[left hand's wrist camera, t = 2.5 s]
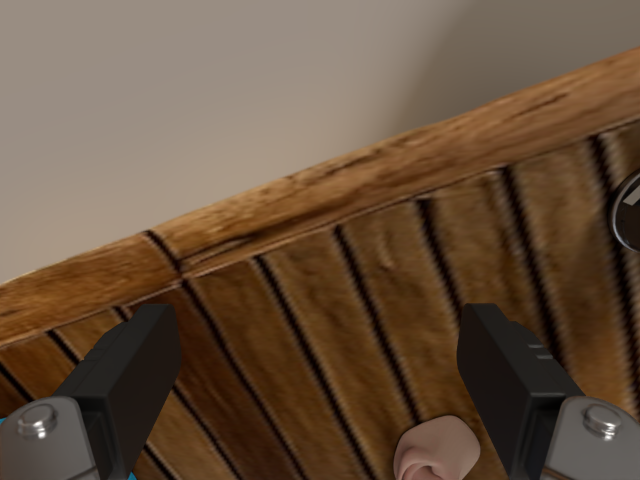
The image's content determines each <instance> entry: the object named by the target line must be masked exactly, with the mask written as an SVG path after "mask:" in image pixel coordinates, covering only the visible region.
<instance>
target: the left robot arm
mask: <svg viewBox="0 0 640 480" xmlns="http://www.w3.org/2000/svg"><path fill="white" fill-rule="evenodd" d="M608 225H609V229H610V231H611V233H612V235H613V237H614V238H615V239H616V240H617V241H618V242H619V243H620V244H621V245H623V246H625V247H627V248H628V249H630V250H632V251H635V252H638V253H640V169H638V170H637V171H635V172H634V173H633V174H631V175H630V176H629V177H628V178H627V179H626V180H625V181H624V182H623V183H622V184H621V185H620V187H619V188H618V189H617V191H616V193H615V194H614V196H613V198H612V201H611V203H610V207H609V211H608ZM457 365H458V370H459V373H460V375H461V377H462V380H463V382H464V384H465V386H466V388H467V390H468V392H469V394H470V396H471V399H472V401H473V403H474V405H475V407H476V409H477V411H478V413H479V415H480V417H481V420H482V422H483V424H484V426H485V428H486V430H487V432H488V434H489V436H490V438H491V441H492V443H493V445H494V447H495V449H496V451H497V453H498V455H499V457H500V459H501V462H502V464H503V466H504V468H505V470H506V472H507V474H508V476H509V478H510V480H640V424H639V423H638V422H637V421H636V420H635V419H634V418H633V417H632V416H631V415H630V414H628V413H627V412H626V411H624V410H623V409H621V408H619V407H618V406H616V405H614V404H612V403H609V402H607V401H604V400H601V399H598V398H594V397H589V396H586V395H585V394H584V393H583V392H582V390H581V389H580V388H579V387H578V386H577V384H576V383H575V382H574V381H573V380H572V379H571V377H570V376H569V375H568V374H567V373H566V371H565V370H564V369H563V368H562V367H561V365H560V364H559V363H558V362H557V361H556V360H555V359H553V356H552V355H551V354H550V352H549V351H548V350H547V349H546V348H544V345H543V344H542V343H541V342H540V341H539V339H538V338H537V337H536V336H535V335H534V333H533V332H531V331H530V330H528V329H527V328H525V327H523V326H522V325H520V324H519V323H517V322H516V321H509V320H508V319H507V318H506V316H505V315H504V314H503V313H502V311H501V310H500V309H499V308H498V306H497V305H496V304H494V303H467V304H465V306H464V308H463V312H462V318H461V325H460V332H459V339H458V346H457ZM180 366H181V347H180V340H179V333H178V327H177V320H176V313H175V309H174V307H173V305H172V304H143V305H141V306H140V308H139V309H138V310H137V311H136V313H135V314H134V315H133V317H132V318H131V319H130V320H129V322H121V323H120V324H118V325H117V326H115V327H114V328H112V329H111V330H109V331H108V332H106V333H105V334H104V335H103V336H102V337H101V338H100V339H99V341H98V342H97V343H96V344H95V345H94V348H93V349H91V350H90V351H89V352H88V354H87V355H86V356H85V357H84V360H82V361H81V362H80V363H79V364H78V365H77V366H76V368H75V369H74V370H73V371H72V372H71V374H70V375H69V376H68V377H67V378H66V379H65V381H64V382H63V383H62V384H61V385H60V386H59V388H58V389H57V390H56V391H55V392H54V394H53V395H52V396H51V397H46V398H42V399H39V400H36V401H33V402H31V403H28V404H26V405H24V406H22V407H21V408H19V409H17V410H16V411H14V412H13V413H12V414H10V415H9V416H8V417H7V418H6V419H5V420H4V421H3V422H2V423H1V424H0V480H128V478H129V476H130V474H131V472H132V469H133V467H134V465H135V463H136V461H137V459H138V457H139V455H140V453H141V451H142V449H143V447H144V445H145V442H146V440H147V438H148V436H149V434H150V432H151V430H152V428H153V426H154V424H155V422H156V420H157V417H158V415H159V413H160V411H161V409H162V407H163V405H164V403H165V401H166V399H167V397H168V395H169V393H170V390H171V388H172V386H173V384H174V382H175V380H176V378H177V376H178V374H179V370H180Z"/></svg>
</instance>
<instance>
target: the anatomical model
mask: <svg viewBox="0 0 640 480" xmlns="http://www.w3.org/2000/svg"><path fill="white" fill-rule="evenodd" d="M479 455H480V445H479V442H478V440H477V438H476V436H475V434H474V433H473V432H472V430H471V429H470V428H469V427H468V426H467V425H466V424H465V423H464V422H463V421H462V420H461V419H459V418H457V417H455V416H442V417H438V418H435V419H432V420H430V421H427V422H424V423H422V424H419V425H417V426H416V427H414V428H412V429H410V430H408V431H407V432H405V433H404V434H403V436H402V437H401V439H400V441H399V443H398V446H397V449H396V453H395V457H394V474H395V477H396V480H462V479H463V478H464V477H465V475H466V474H467V473H468V472H469V471H470V470H471V468H472V467H473V466H474V464H475V463H476V462H477V460H478V458H479Z"/></svg>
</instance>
